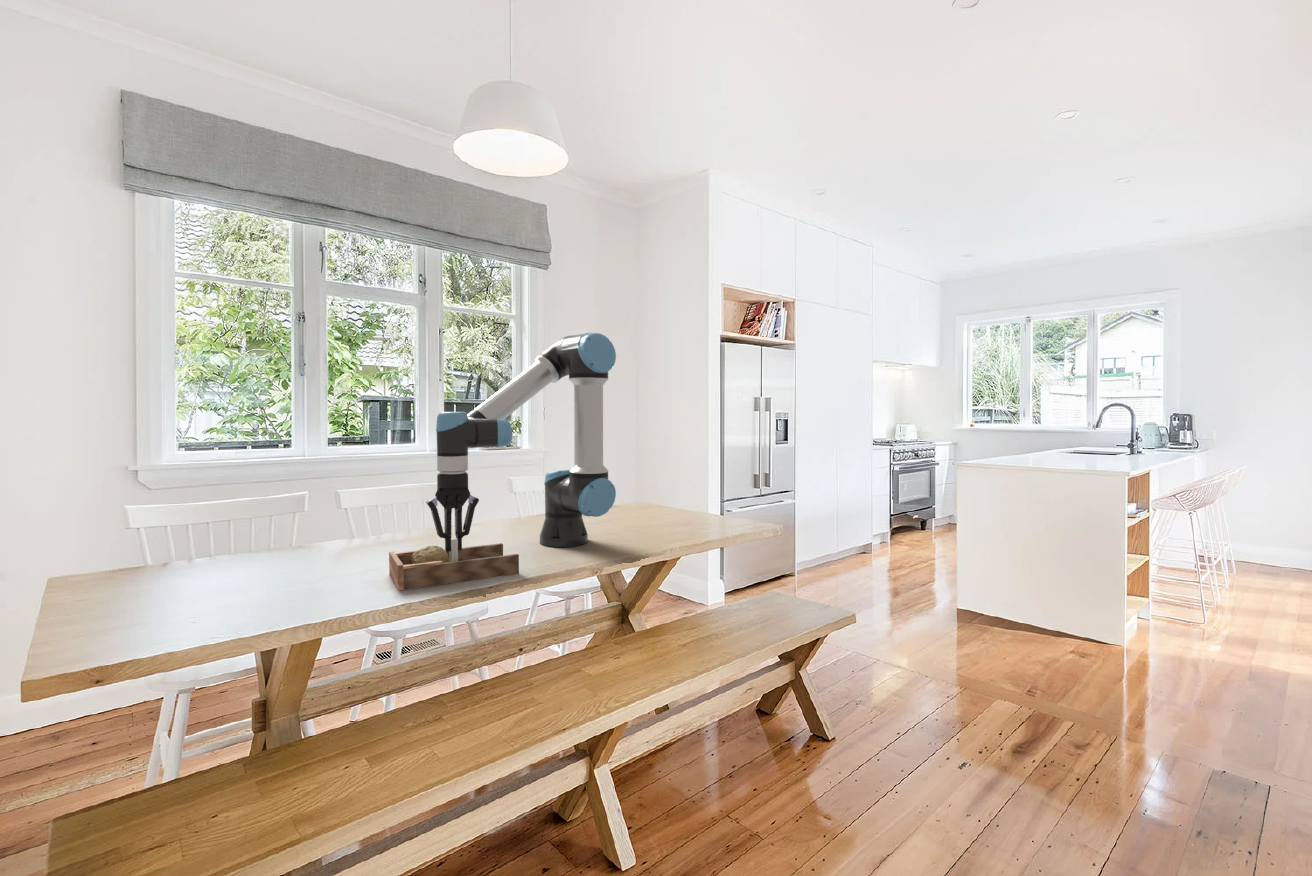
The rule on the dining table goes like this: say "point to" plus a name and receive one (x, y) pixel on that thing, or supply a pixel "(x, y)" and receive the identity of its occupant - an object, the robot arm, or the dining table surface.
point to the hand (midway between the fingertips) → (453, 563)
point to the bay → (452, 567)
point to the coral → (430, 555)
